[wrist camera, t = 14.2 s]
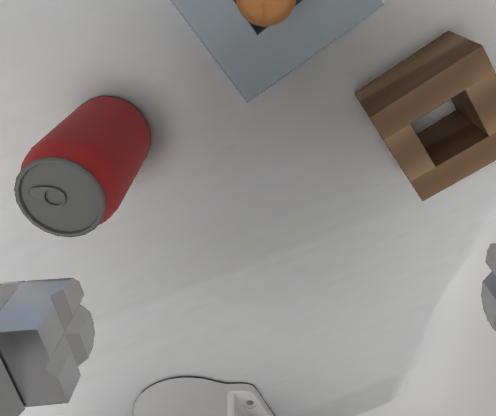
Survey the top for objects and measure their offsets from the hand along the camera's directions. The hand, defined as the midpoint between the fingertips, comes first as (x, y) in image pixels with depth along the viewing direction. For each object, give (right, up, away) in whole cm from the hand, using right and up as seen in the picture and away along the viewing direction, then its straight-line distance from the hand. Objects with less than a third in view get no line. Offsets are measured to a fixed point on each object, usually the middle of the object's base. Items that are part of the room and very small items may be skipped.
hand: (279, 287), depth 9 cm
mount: (+13, +10, +28) cm, 32 cm away
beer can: (-12, +8, +30) cm, 33 cm away
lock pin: (0, +17, +22) cm, 28 cm away
